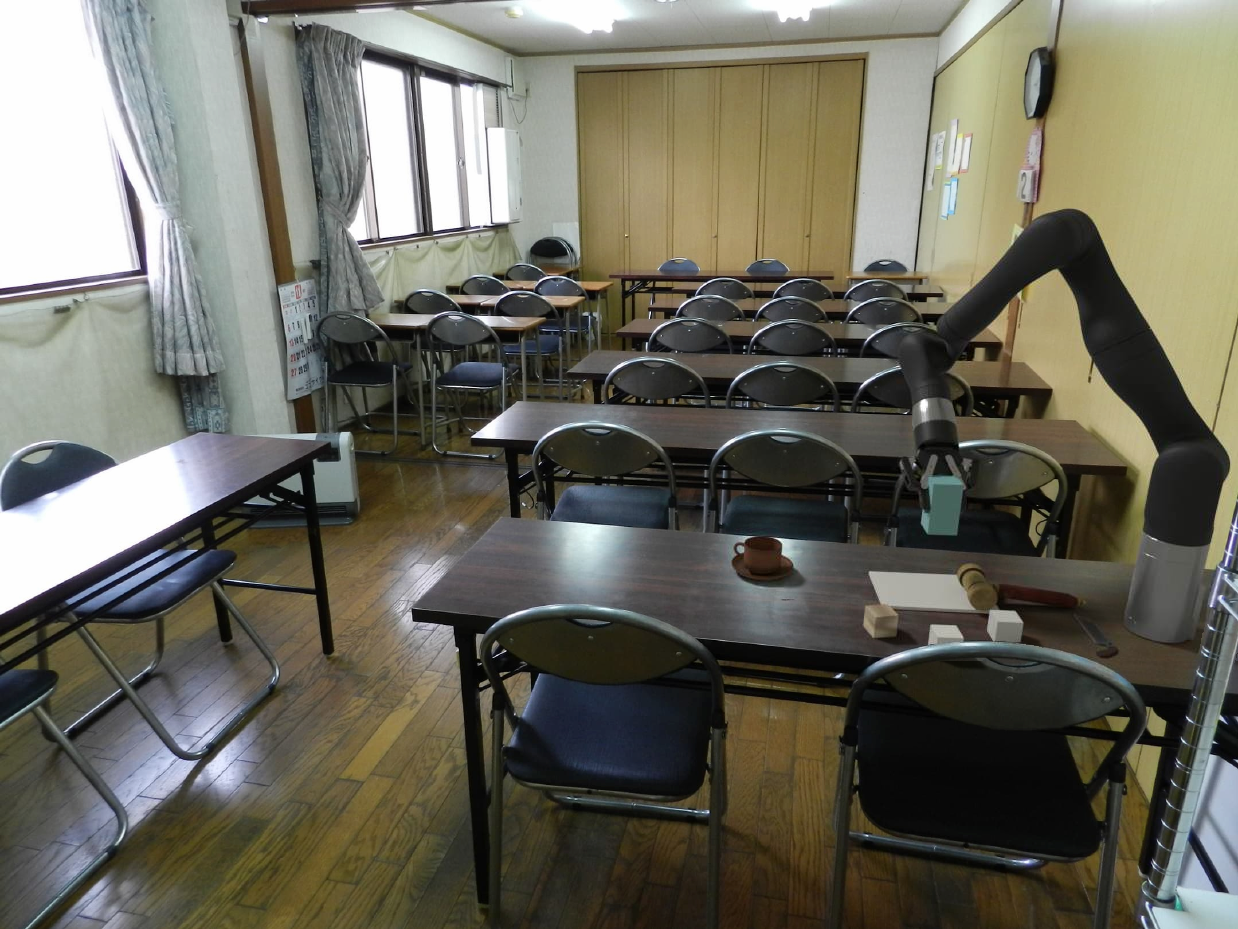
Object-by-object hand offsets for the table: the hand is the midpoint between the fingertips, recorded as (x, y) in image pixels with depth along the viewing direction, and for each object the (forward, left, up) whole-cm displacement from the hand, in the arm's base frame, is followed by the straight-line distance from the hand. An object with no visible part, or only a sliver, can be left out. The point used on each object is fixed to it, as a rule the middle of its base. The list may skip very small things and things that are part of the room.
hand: (944, 511), depth 141 cm
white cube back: (+3, +19, -17) cm, 26 cm away
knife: (-23, +11, -18) cm, 31 cm away
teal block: (0, -2, -4) cm, 5 cm away
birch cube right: (+12, +13, -17) cm, 25 cm away
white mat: (0, -2, -17) cm, 17 cm away
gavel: (-15, +1, -17) cm, 23 cm away
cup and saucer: (+31, -8, -17) cm, 36 cm away
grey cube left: (-8, +13, -17) cm, 23 cm away
